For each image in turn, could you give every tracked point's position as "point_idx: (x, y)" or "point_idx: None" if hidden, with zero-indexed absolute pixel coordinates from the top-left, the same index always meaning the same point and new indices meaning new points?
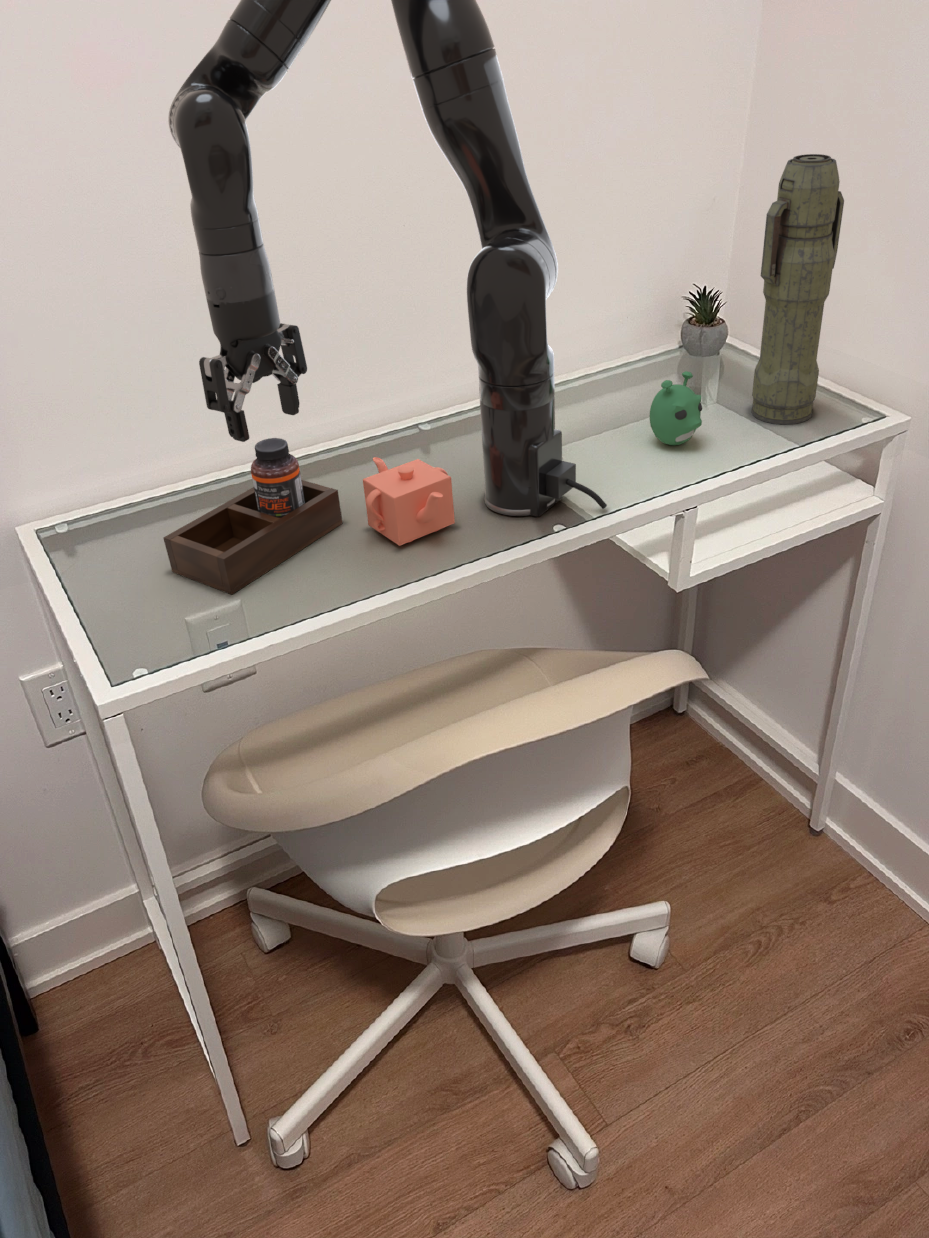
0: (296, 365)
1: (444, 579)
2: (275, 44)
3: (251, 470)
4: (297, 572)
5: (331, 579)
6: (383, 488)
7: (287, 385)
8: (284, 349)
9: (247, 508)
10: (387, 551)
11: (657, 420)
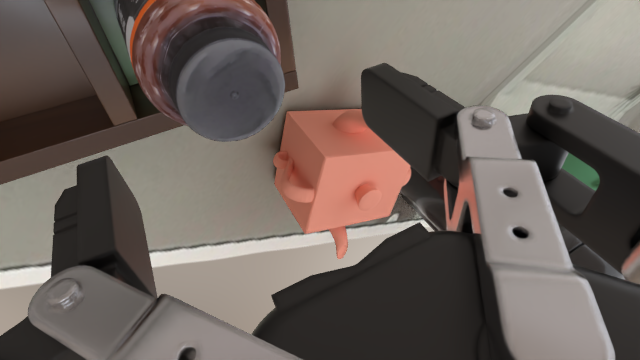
0: (542, 175)
1: (261, 249)
2: None
3: (135, 46)
4: (114, 152)
5: (153, 195)
6: (319, 203)
7: (436, 163)
8: (628, 194)
9: (81, 12)
10: (259, 172)
11: (566, 170)
